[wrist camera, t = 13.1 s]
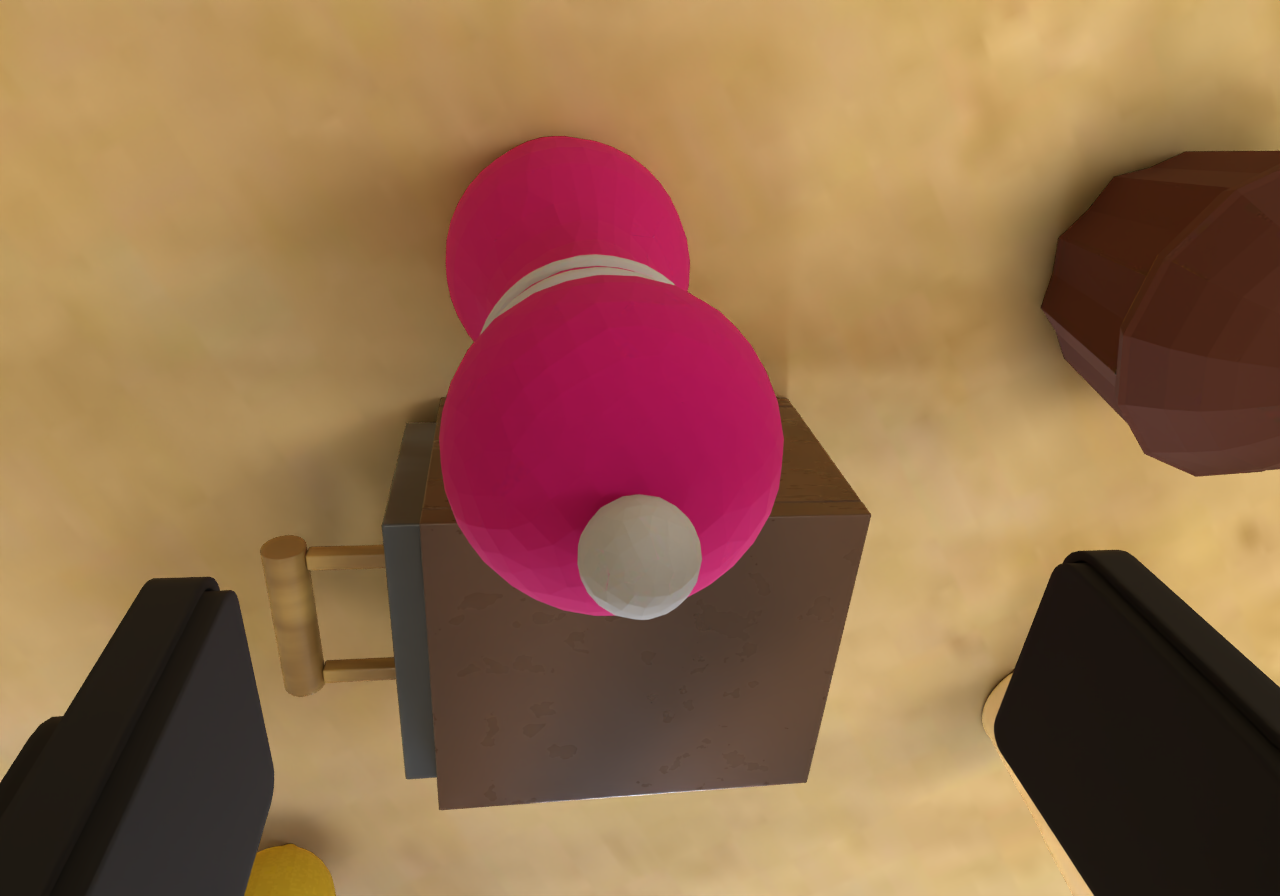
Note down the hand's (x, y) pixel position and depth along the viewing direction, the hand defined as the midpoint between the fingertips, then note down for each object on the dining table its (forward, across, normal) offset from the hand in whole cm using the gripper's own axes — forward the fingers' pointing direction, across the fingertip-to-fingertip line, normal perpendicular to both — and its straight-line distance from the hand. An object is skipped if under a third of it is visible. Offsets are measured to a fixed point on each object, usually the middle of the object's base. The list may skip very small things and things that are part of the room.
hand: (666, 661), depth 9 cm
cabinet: (+21, -2, +13) cm, 25 cm away
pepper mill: (+22, 0, 0) cm, 22 cm away
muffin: (+22, -23, +1) cm, 32 cm away
